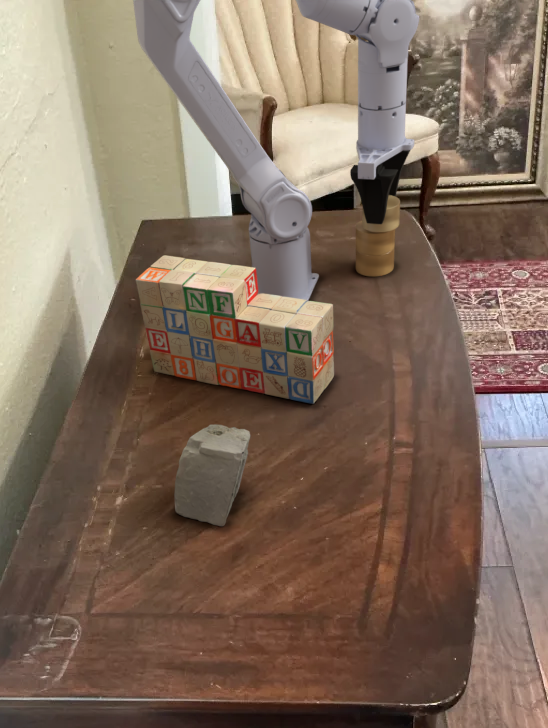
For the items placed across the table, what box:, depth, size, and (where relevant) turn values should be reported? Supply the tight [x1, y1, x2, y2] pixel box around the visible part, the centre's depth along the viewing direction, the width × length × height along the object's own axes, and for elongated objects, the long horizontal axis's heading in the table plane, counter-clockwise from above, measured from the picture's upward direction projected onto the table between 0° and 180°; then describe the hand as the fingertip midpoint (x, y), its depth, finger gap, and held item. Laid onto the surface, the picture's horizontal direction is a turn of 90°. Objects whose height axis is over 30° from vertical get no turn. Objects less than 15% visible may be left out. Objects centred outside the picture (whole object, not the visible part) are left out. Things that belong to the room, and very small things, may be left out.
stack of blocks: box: [135, 255, 335, 405], centre depth 98 cm, size 21×6×12 cm, turn 63°
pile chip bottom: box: [355, 248, 395, 277], centre depth 118 cm, size 5×5×3 cm
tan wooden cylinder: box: [361, 195, 401, 232], centre depth 113 cm, size 5×5×3 cm
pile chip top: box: [355, 220, 396, 255], centre depth 116 cm, size 5×5×3 cm
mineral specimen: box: [173, 424, 251, 527], centre depth 83 cm, size 7×9×8 cm
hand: (380, 214), depth 113 cm, fingers closed on tan wooden cylinder, 5 cm apart
